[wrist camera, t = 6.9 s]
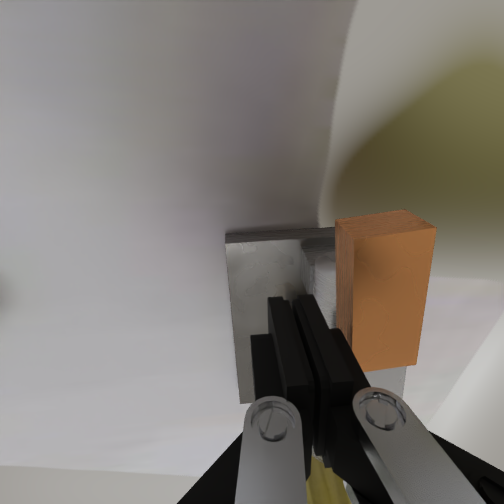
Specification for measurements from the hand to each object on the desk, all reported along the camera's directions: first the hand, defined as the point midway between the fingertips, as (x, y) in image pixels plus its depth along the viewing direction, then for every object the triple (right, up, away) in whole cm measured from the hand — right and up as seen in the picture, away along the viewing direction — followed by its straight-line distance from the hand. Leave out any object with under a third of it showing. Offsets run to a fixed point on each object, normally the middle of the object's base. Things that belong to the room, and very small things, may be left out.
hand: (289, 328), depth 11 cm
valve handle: (+3, -1, +1) cm, 4 cm away
